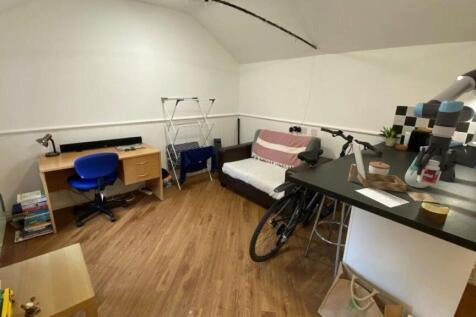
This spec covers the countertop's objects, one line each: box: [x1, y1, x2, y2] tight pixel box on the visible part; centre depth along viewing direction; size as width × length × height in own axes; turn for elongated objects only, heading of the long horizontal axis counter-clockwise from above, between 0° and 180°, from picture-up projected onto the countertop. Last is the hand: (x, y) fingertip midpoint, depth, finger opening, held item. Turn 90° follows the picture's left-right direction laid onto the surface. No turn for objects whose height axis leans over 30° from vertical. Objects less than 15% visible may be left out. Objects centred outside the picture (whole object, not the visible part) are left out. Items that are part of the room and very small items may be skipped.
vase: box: [404, 154, 432, 189], centre depth 125 cm, size 12×12×18 cm
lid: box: [351, 140, 366, 179], centre depth 126 cm, size 19×13×1 cm
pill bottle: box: [421, 159, 440, 186], centre depth 109 cm, size 6×6×11 cm
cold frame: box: [347, 163, 409, 193], centre depth 126 cm, size 26×14×10 cm, turn 78°
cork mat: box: [405, 190, 436, 203], centre depth 113 cm, size 10×10×1 cm
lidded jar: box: [368, 161, 391, 175], centre depth 138 cm, size 11×11×9 cm
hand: (426, 182), depth 110 cm, fingers closed on pill bottle, 6 cm apart
